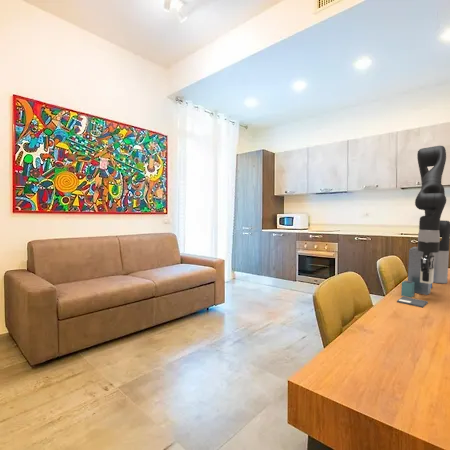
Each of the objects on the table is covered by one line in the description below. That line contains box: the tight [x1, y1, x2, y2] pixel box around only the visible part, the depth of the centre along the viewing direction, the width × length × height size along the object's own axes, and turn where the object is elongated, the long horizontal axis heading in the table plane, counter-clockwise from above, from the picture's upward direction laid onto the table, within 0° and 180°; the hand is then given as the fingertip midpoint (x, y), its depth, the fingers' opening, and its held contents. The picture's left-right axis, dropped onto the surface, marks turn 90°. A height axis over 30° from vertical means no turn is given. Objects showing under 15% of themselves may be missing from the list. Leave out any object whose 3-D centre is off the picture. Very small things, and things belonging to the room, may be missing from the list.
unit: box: [407, 246, 432, 296], centre depth 134 cm, size 7×8×21 cm
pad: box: [396, 296, 429, 308], centre depth 118 cm, size 9×9×1 cm
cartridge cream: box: [420, 267, 434, 285], centre depth 123 cm, size 4×4×6 cm
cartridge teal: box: [400, 280, 415, 298], centre depth 128 cm, size 4×4×6 cm
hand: (426, 280), depth 123 cm, fingers closed on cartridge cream, 4 cm apart
